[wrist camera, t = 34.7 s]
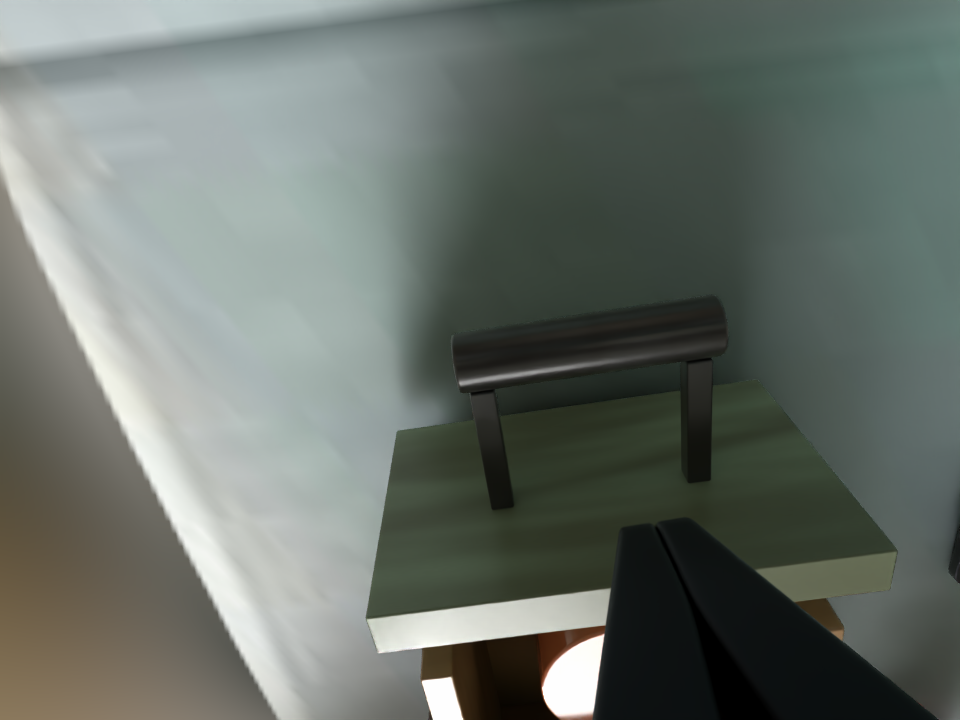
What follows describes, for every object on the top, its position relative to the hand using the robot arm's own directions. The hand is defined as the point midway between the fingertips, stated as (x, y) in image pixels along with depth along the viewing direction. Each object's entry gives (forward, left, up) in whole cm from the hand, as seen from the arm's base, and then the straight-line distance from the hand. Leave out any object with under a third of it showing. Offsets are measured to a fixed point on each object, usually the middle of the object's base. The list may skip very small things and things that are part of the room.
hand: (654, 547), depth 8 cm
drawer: (0, +9, -11) cm, 15 cm away
